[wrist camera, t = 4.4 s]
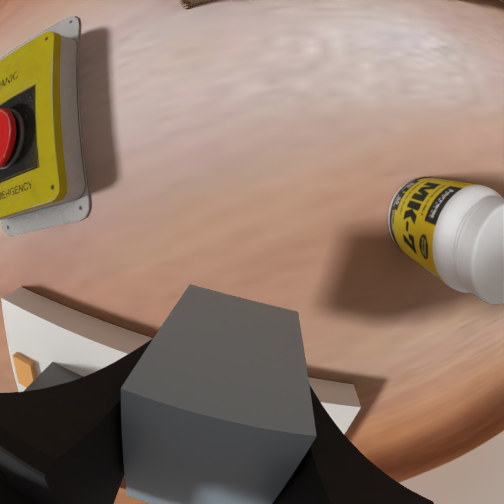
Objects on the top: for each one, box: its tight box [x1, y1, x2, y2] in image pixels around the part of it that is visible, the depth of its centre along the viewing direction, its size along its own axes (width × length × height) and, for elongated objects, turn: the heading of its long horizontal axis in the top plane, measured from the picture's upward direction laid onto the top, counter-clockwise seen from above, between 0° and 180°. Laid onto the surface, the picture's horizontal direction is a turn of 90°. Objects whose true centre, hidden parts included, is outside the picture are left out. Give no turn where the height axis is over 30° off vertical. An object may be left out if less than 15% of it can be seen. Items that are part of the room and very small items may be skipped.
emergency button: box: [0, 17, 90, 236], centre depth 15 cm, size 9×4×15 cm
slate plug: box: [121, 284, 316, 504], centre depth 9 cm, size 5×4×6 cm
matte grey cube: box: [23, 362, 84, 392], centre depth 17 cm, size 5×4×4 cm
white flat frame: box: [1, 287, 361, 434], centre depth 20 cm, size 12×26×3 cm, turn 76°
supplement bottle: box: [388, 177, 504, 305], centre depth 13 cm, size 5×5×8 cm
